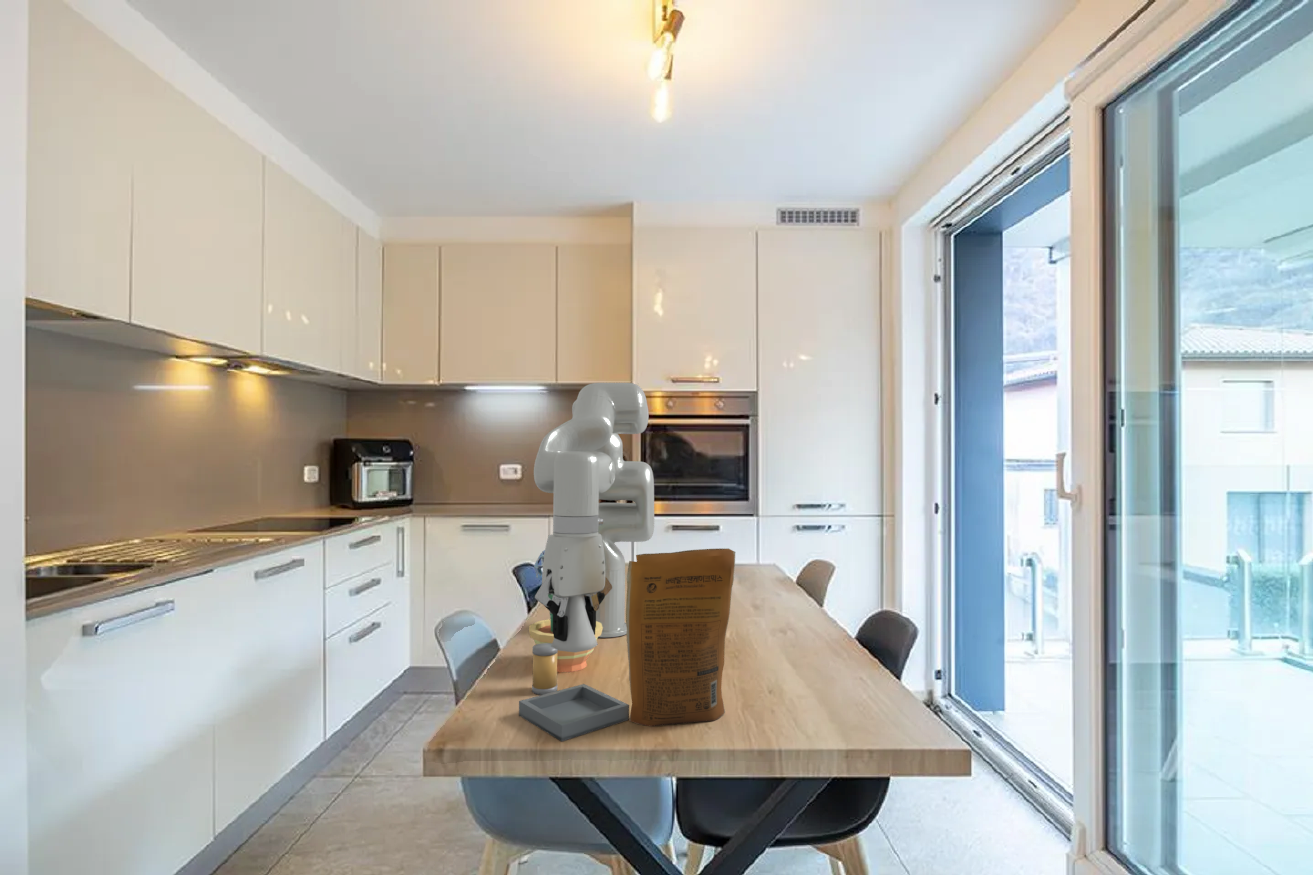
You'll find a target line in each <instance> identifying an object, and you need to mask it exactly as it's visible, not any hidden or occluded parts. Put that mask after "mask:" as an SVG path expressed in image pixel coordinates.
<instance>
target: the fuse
mask: <svg viewBox="0 0 1313 875" xmlns="http://www.w3.org/2000/svg"><path fill="white" fill-rule="evenodd" d="M551 645H552V643H542V644H537V645H535V644H534V645H533V646H532V686H531V692H532V694H535V695H536V696H540V695H544V694H547V693H551V692H555V691H558V672H557V653H558V650H557V649H555V648H553V647H551Z"/></svg>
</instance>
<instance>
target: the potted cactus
mask: <svg viewBox="0 0 1313 875" xmlns="http://www.w3.org/2000/svg"><path fill="white" fill-rule="evenodd" d="M544 554H545V549H544V550H543V551H542V552H541V553H540V554H539V556H538V558H537V559H536V561H535V563H534V566H533V568H534V572H535V578H536V579H538V578H539V576H541V577H542V569H543V561H544ZM548 597H549V598H550V599H551V600H552V598H553V594H548ZM602 629H603V627H602V624H601V623H600V622H597V621H596V628H595V638H596V641H597V642H598V638H599V637H598V636H600V635H601V633H602ZM528 631H529V636H530V638H531V639H533V640H534V645H537V644H542V643H553V640H554V634H553V614H551V613H550V612H549V618H548V619H544V620H543V619H542V620H538V621H535V622H533V623H532V624H529V628H528ZM594 649H595V647H594V648H592V649H591V650H585V651H580V652H567V651H559V650H558V653H557V673H573V672H577V671H582V670H583V669H585V668H586V667H588V664H587V659H588V658H589V657H590V655H591V654H592V653H593V651H594Z"/></svg>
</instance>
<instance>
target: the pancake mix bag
mask: <svg viewBox="0 0 1313 875" xmlns="http://www.w3.org/2000/svg"><path fill="white" fill-rule="evenodd" d="M635 557H636V561H633V560H629V561H628V568H627V574H626V597H625V623H626V626H627V634H626V646H627V659H628V675H629V676H628V679H629V680H628V681H629V689H630V697H631V708H630V712H629V720H628V721H629V722H632V723H634V724H637V725H641V726H643V727H644V726H645V727H661V726H671V725H679V724H680V725H681V724H691V723H692V724H693V723H701V722H702V723H703V722H714V721H716V720H719V719H720V718H721V717H723V716H724V714H725V713H726V709H725V706H724V705H725V704H724V699H723V693H722V684H723V683H722V682H723V681H722V680H723V671H724V667H725V654H726V653H725V650H726V649H725V648H726V635H727V629H728V625H729V622H730V621H729V619H730V614H731V605H732V594H733V593H732V590H733V585H734V581H735V568H736V551H734V550H733V549H730V548H703V549H702V548H701V549H689V550H682V551H681V550H680V551H675V552H655V553H640V554H635Z"/></svg>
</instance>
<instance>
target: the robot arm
mask: <svg viewBox="0 0 1313 875" xmlns="http://www.w3.org/2000/svg"><path fill="white" fill-rule="evenodd" d="M571 407H572V408H571V411H572V412H571V413H572V418H571V419H569V420H567V421H565V422H563V423H562V424H560V425H558V426H557V427H555V428H552V430H550V431H549V432H548V433H547V434H545V436H544V437H543V438H542V441H541V442H540V445H539V448H538V451H537V454H536V457H535V461H534V465H533V466H534V467H533V478H534V482H535V485H536V486H537V488H538V489H539V490H540V491H542V492H544V493H547V494H548V493H549V494H553V499H552V500H553V502H552V503H553V507H552V508H553V509H552V512H553V513H552V514H553V517H552V534H549V535H548V536H547V540H546V543H545V544H546V545H545V547H544V548H545V549H544V550H545V554H544V561H543V567H542V571H541V585H540V587H539V589H538V590H537V592H536V594H535V595H534V599H535V600H536V601H537V602H538V603H540V604H542V606H544V607H545V609H547V610H548V612H549V614H550V613H551V614H553V634H554V638H555V639H558V640H560V641H567V637H568V617H567V616H564V614H565V610H566V606H567V602H568V597H574V596H581V595H584V603H585V609H586V612H587V615H588V618H589V621H590V624H591V627H592V630H593V632H594V635H595V628H596V621H597V622H600V623H601V624H602V627H603V629H602V633H601V635H600V636H598V638H617V637H622V636H625V635H627V626H626V597H625V596H626V560H625V556H624V554H623V553H622V551H621V550H620V549H619V547H618V546H617V545H616V543H620V542H622V543H623V542H625V543H629V542H630V543H635V542H636V543H640V542H641V543H643V542H647V541H649V540H651V538H652V537H653V535H654V531H655V481H654V472H653V470H652V467H651V465H649V464H648V463H647V462H644V461H640V460H639V461H638V460H637V461H635V460H634V461H633V460H629V461H627V460H624V458H623V457H624V456H623V454H624V453H623V452H624V451H623V440H622V439H621V437H620V435H619V434H621V435H637V434H638V435H639V434H643V432H645V431H646V429H647V426H648V423H649V418H650V417H649V413H650V412H649V407H648V401H647V397H646V394H645V392H644V390H643V388H641V386H639V385H638V384H636V383H633V382H593V383H589V384H587V385H585V386H584V387H582V388H581V389H580V391H578V395H577V398H576V400H574V402H573V403H572V406H571ZM600 500H605V501H633V502H634V503H633V502H631V503H630V502H628V503H627V502H626V503H625V502H599V501H600ZM548 594H553V598H552V600H551V599H550V598H549V597H548Z"/></svg>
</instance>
